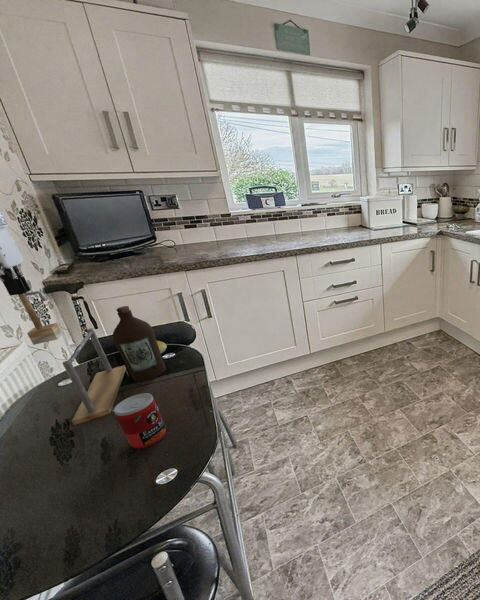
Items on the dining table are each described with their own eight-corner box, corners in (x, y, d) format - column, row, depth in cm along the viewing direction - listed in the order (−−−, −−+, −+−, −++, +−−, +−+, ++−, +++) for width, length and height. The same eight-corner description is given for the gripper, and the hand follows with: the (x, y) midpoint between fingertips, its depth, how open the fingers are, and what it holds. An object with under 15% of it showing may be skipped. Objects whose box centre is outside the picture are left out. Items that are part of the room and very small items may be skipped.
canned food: (149, 451, 79) (132, 414, 75) (122, 448, 80) (104, 412, 76) (174, 428, 86) (160, 393, 82) (149, 426, 87) (134, 392, 83)
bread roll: (138, 360, 123) (134, 351, 122) (146, 350, 131) (142, 341, 130) (164, 355, 126) (160, 346, 124) (169, 345, 134) (166, 336, 132)
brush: (33, 345, 89) (-5, 276, 82) (39, 339, 93) (3, 272, 86) (61, 338, 92) (26, 271, 85) (66, 333, 96) (33, 268, 88)
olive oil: (132, 373, 115) (103, 307, 106) (167, 362, 120) (143, 299, 111) (130, 387, 106) (98, 317, 98) (168, 374, 112) (141, 307, 103)
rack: (74, 425, 90) (43, 370, 84) (98, 376, 115) (75, 330, 108) (110, 413, 94) (83, 359, 88) (126, 368, 118) (106, 323, 112)
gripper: (-22, 223, 85) (14, 289, 92) (-60, 228, 72) (-15, 304, 79) (18, 219, 88) (50, 283, 95) (-11, 223, 76) (28, 297, 82)
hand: (20, 292), depth 87 cm, fingers closed on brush, 1 cm apart
